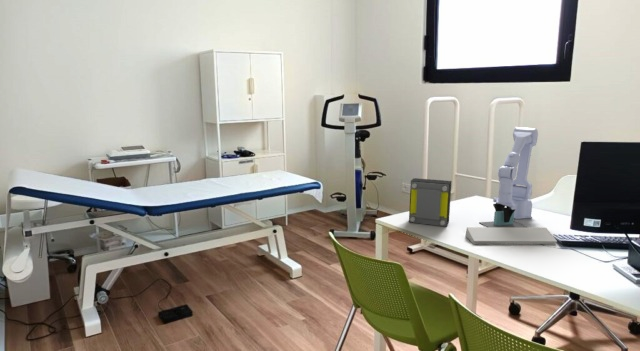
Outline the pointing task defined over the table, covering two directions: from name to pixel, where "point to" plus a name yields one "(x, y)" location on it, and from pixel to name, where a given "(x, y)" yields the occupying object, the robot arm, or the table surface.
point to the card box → (501, 218)
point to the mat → (515, 225)
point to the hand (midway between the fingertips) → (502, 220)
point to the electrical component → (430, 201)
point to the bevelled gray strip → (509, 235)
